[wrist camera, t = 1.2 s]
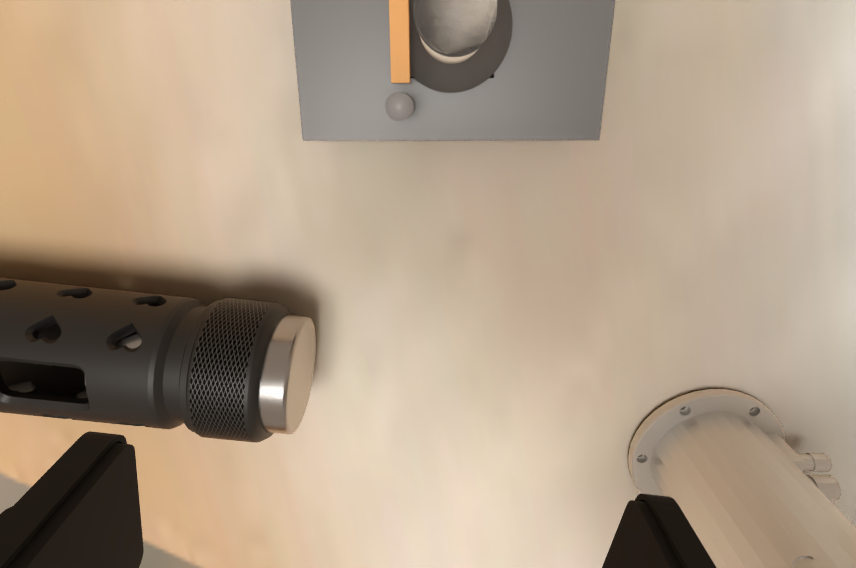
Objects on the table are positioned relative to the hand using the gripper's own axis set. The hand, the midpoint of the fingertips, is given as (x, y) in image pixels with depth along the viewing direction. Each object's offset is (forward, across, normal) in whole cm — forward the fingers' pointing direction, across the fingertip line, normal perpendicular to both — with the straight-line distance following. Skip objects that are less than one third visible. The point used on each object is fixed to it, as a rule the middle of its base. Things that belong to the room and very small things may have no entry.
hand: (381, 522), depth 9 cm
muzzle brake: (+29, +20, +13) cm, 37 cm away
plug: (+28, -1, -11) cm, 30 cm away
